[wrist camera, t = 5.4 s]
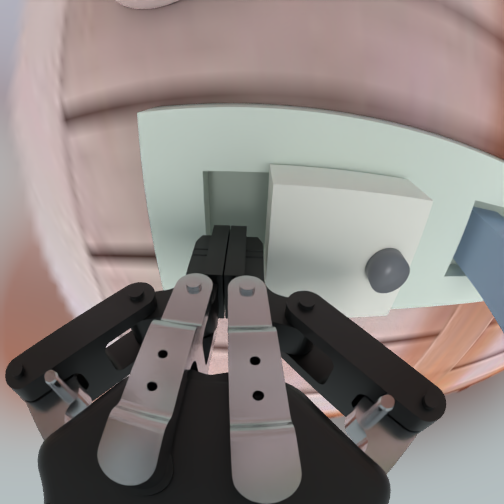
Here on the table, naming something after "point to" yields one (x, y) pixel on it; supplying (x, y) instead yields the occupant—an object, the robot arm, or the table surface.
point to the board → (310, 155)
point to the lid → (342, 236)
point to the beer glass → (145, 3)
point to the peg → (484, 258)
